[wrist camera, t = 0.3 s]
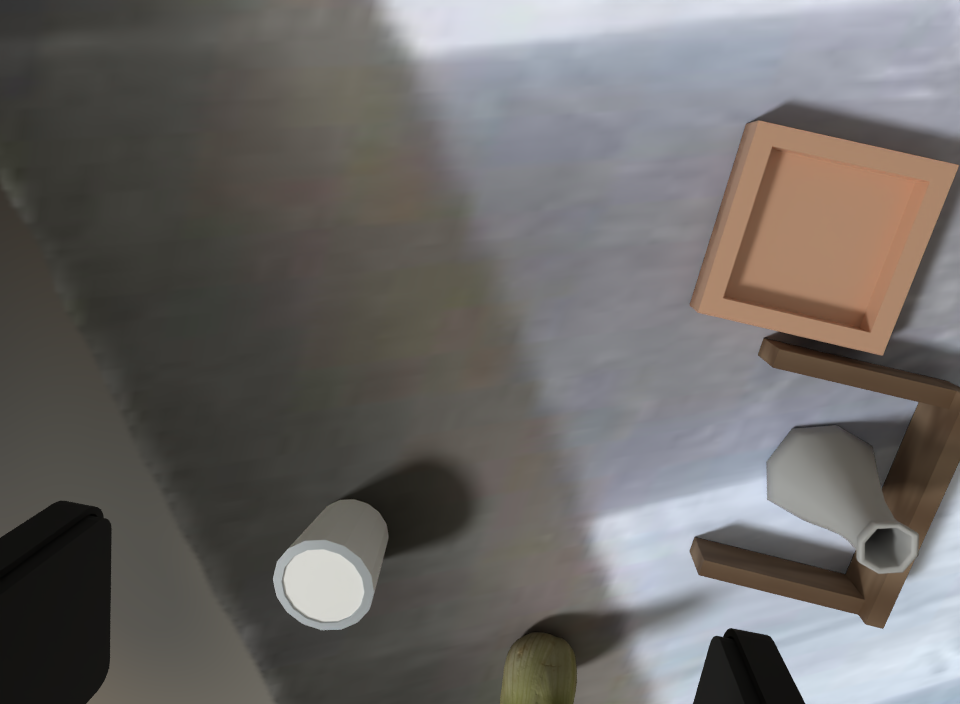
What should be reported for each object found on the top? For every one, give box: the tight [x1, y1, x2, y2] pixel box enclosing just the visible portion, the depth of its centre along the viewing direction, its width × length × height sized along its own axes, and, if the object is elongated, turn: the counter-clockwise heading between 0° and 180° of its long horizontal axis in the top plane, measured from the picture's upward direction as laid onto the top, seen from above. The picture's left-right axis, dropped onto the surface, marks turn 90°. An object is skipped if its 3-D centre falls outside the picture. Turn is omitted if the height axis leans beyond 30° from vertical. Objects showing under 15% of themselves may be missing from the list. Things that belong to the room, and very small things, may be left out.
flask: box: [766, 425, 919, 574], centre depth 41 cm, size 7×7×10 cm
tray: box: [690, 120, 959, 356], centre depth 41 cm, size 12×12×2 cm
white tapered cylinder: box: [273, 499, 389, 630], centre depth 47 cm, size 7×7×7 cm
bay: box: [690, 338, 960, 629], centre depth 44 cm, size 16×12×4 cm
